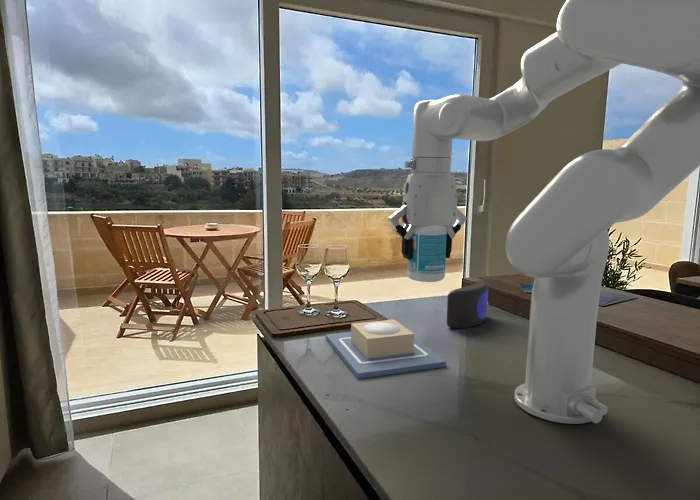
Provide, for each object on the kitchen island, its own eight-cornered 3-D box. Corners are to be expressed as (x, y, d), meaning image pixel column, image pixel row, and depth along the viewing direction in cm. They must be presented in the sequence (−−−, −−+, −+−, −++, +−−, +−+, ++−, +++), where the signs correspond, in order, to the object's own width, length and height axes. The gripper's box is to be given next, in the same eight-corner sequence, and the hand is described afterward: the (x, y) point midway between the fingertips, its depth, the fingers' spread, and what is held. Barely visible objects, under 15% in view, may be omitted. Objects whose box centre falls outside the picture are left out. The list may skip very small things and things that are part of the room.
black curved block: (461, 333, 110) (462, 294, 108) (444, 328, 113) (446, 290, 112) (496, 318, 121) (498, 283, 120) (480, 315, 124) (482, 280, 123)
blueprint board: (446, 366, 91) (447, 341, 90) (358, 378, 85) (358, 351, 84) (399, 330, 111) (399, 310, 110) (325, 338, 106) (325, 316, 105)
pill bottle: (450, 278, 95) (454, 211, 93) (435, 285, 89) (439, 214, 87) (416, 272, 99) (419, 209, 97) (400, 279, 93) (403, 211, 91)
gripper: (396, 166, 84) (392, 263, 88) (481, 168, 89) (474, 259, 93) (381, 166, 92) (378, 255, 95) (461, 168, 97) (455, 252, 100)
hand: (426, 257), depth 94 cm, fingers closed on pill bottle, 7 cm apart
